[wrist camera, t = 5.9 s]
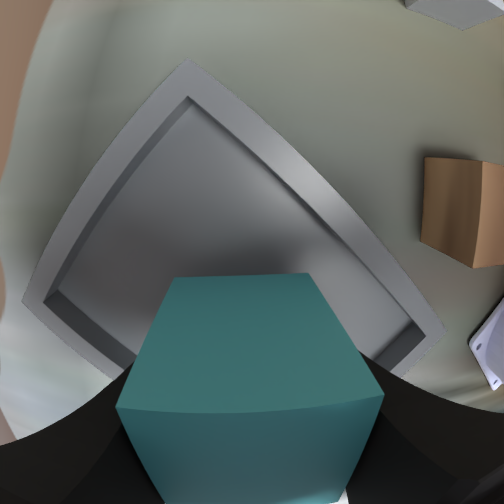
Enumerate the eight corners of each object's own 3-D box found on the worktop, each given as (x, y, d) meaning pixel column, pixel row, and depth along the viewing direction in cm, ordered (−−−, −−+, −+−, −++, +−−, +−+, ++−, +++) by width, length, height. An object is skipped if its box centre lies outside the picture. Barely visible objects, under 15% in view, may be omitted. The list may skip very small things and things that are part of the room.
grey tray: (427, 313, 14) (447, 330, 12) (272, 441, 16) (276, 465, 14) (194, 73, 10) (187, 57, 8) (42, 284, 12) (21, 301, 10)
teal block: (308, 272, 10) (384, 394, 4) (300, 375, 11) (337, 501, 6) (174, 277, 10) (115, 406, 4) (189, 380, 11) (170, 510, 5)
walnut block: (477, 165, 12) (532, 173, 8) (472, 238, 13) (522, 261, 9) (423, 157, 11) (482, 161, 8) (419, 240, 13) (472, 268, 9)
